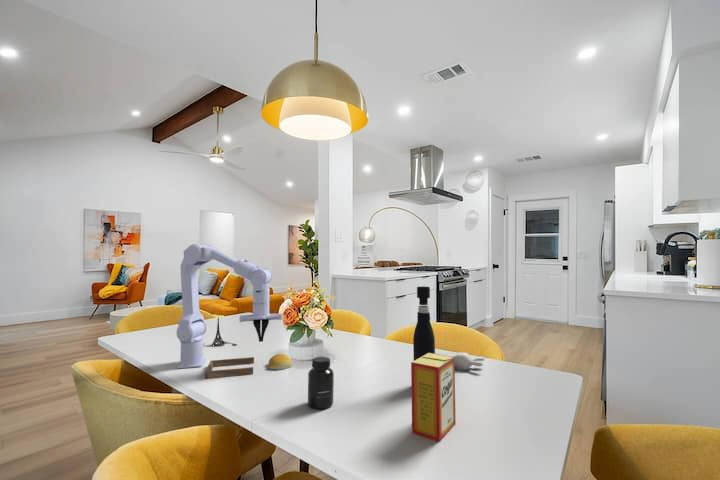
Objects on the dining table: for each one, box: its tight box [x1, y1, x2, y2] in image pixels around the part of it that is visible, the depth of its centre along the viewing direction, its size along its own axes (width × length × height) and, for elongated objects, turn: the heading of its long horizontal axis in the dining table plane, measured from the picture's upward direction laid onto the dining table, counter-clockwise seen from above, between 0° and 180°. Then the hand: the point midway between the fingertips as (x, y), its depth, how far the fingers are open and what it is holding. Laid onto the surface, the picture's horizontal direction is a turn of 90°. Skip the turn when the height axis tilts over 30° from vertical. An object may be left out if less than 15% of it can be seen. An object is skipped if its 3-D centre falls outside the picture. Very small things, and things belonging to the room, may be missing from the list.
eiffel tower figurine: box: [210, 317, 239, 348], centre depth 155 cm, size 15×10×13 cm
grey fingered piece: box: [445, 352, 485, 371], centre depth 121 cm, size 10×5×15 cm
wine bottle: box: [412, 285, 436, 361], centre depth 105 cm, size 6×6×30 cm
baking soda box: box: [410, 353, 457, 443], centre depth 80 cm, size 10×6×16 cm
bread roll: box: [268, 353, 293, 371], centre depth 125 cm, size 8×9×4 cm
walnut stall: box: [204, 356, 255, 380], centre depth 121 cm, size 13×15×2 cm
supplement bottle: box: [307, 356, 335, 410], centre depth 93 cm, size 7×7×12 cm
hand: (260, 341), depth 124 cm, fingers closed
